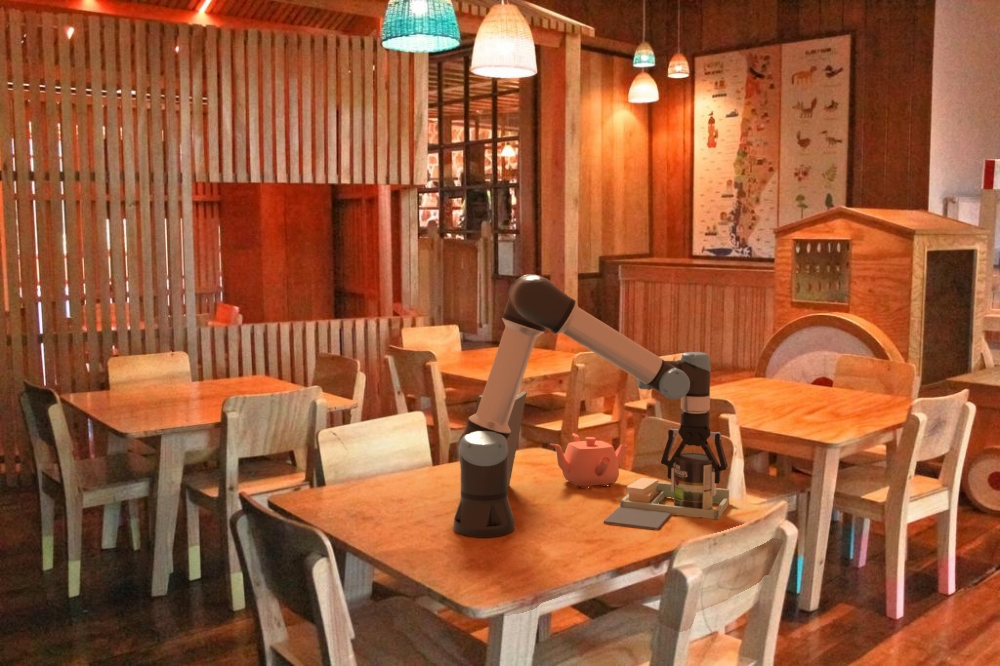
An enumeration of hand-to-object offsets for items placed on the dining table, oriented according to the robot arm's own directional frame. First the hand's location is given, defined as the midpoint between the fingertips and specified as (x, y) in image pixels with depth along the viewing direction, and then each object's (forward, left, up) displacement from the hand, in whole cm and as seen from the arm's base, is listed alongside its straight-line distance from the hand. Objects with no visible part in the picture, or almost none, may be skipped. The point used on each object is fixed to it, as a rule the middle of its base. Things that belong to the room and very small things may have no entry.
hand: (693, 492), depth 255 cm
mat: (-15, +11, -4) cm, 19 cm away
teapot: (+14, +34, -5) cm, 37 cm away
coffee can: (0, 0, -5) cm, 5 cm away
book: (-9, +57, -3) cm, 58 cm away
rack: (+1, +5, -4) cm, 7 cm away
